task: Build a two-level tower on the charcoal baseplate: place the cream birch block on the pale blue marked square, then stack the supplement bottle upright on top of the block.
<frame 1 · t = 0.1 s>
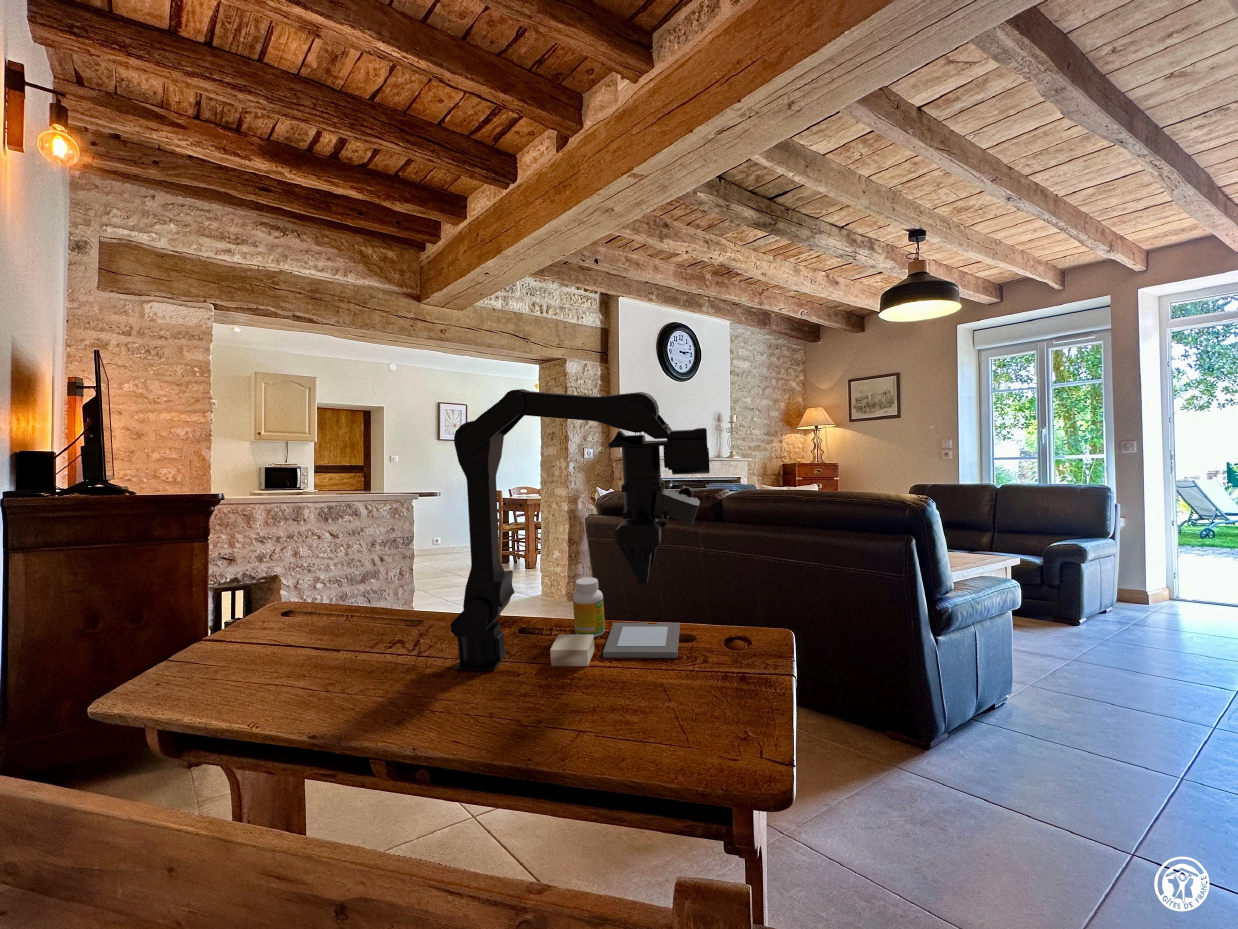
hand: (646, 575, 97), 15 cm above the table, tool pointing down, fingers open, 9 cm apart
baseplate: (643, 642, 107), on the table
supplement bottle: (590, 633, 112), on the table
birch block: (573, 659, 103), on the table
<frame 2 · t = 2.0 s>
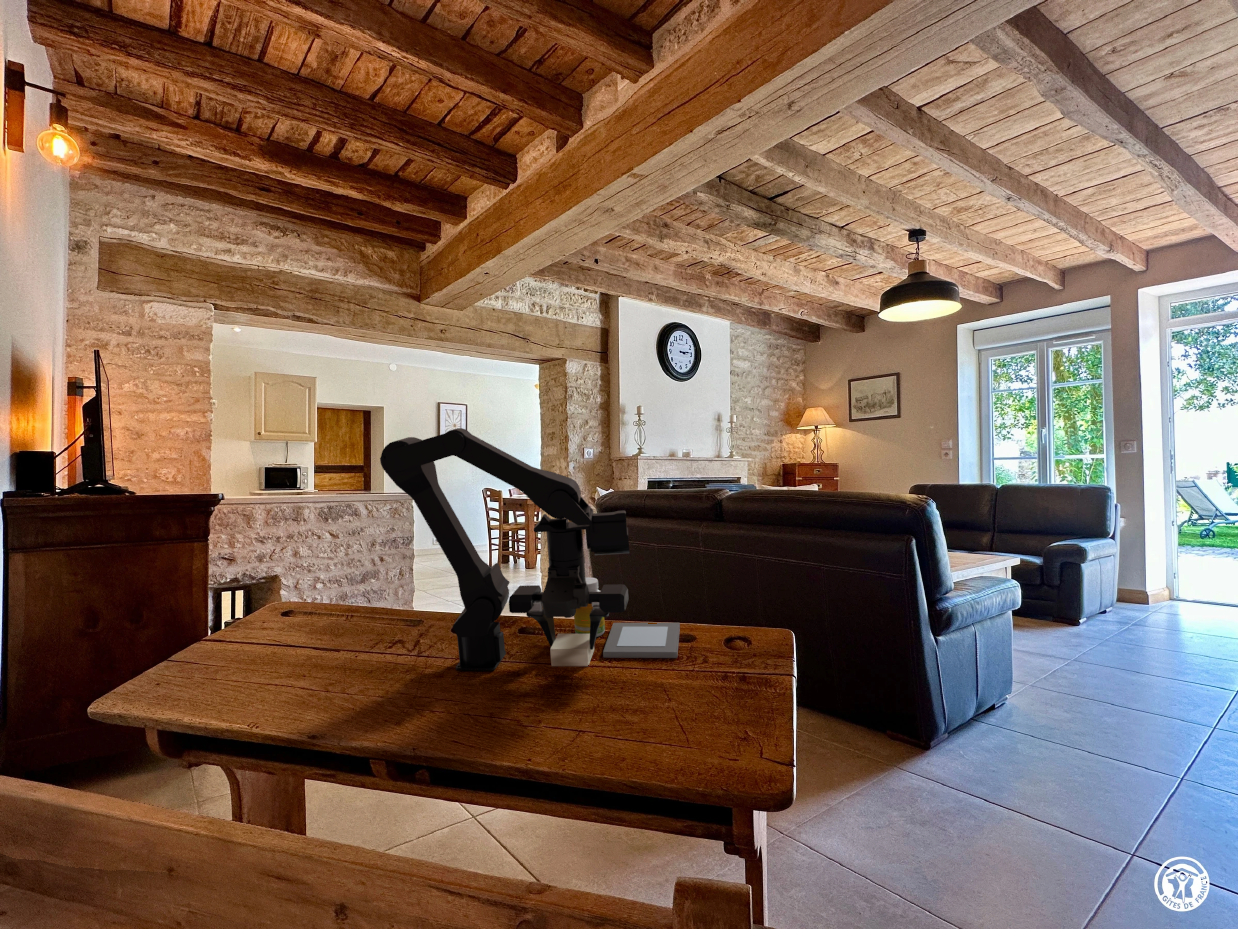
hand: (572, 648, 102), 2 cm above the table, tool pointing down, fingers closed on birch block, 6 cm apart
birch block: (573, 658, 103), on the table, touching gripper
everything else where it was.
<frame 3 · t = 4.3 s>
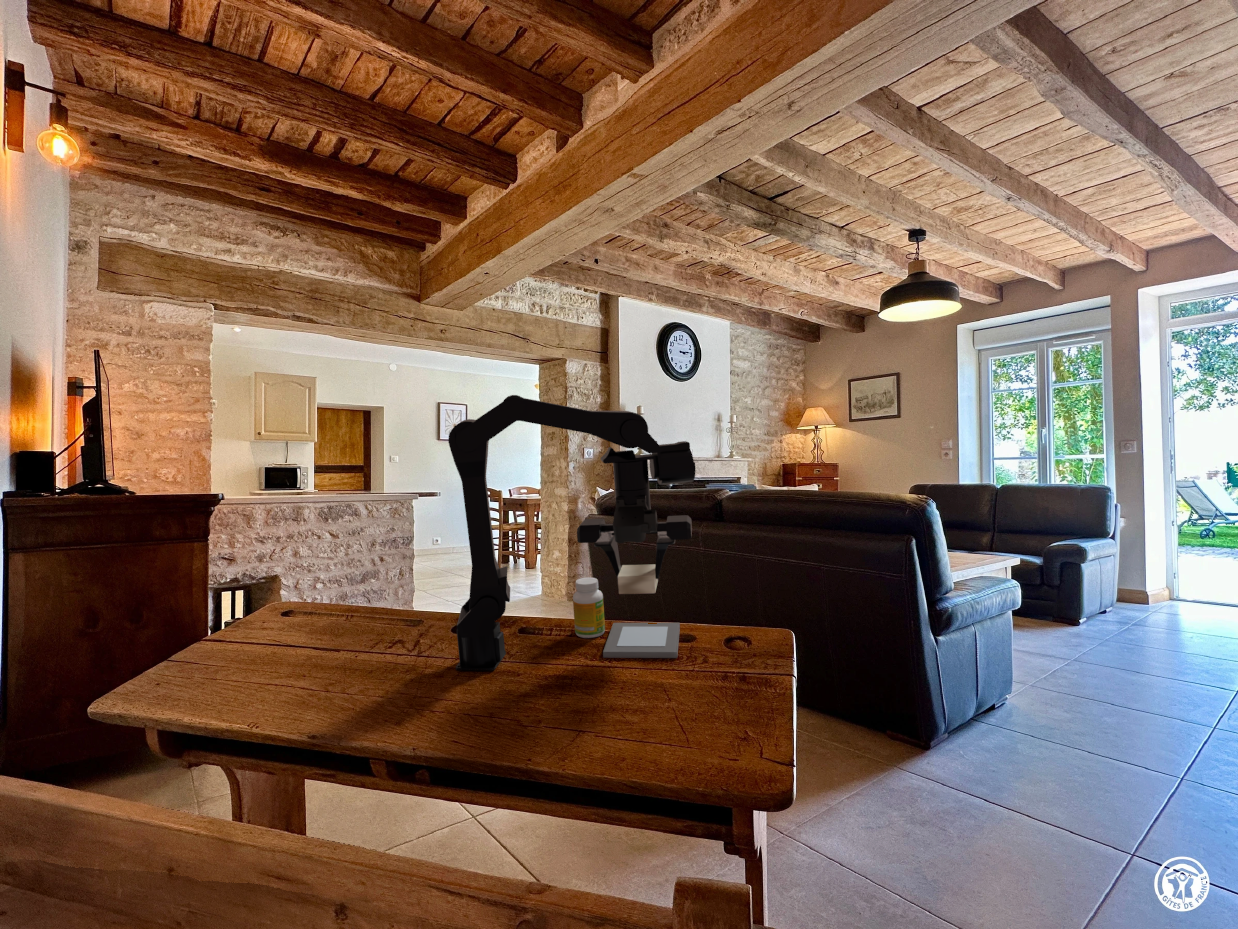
hand: (638, 578, 105), 11 cm above the table, tool pointing down, fingers closed on birch block, 6 cm apart
birch block: (638, 587, 105), point 10 cm above the table, touching gripper
everything else where it was.
when the fingers open (3 cm above the table, at t = 6.2 s): birch block stays where it is, resting on baseplate.
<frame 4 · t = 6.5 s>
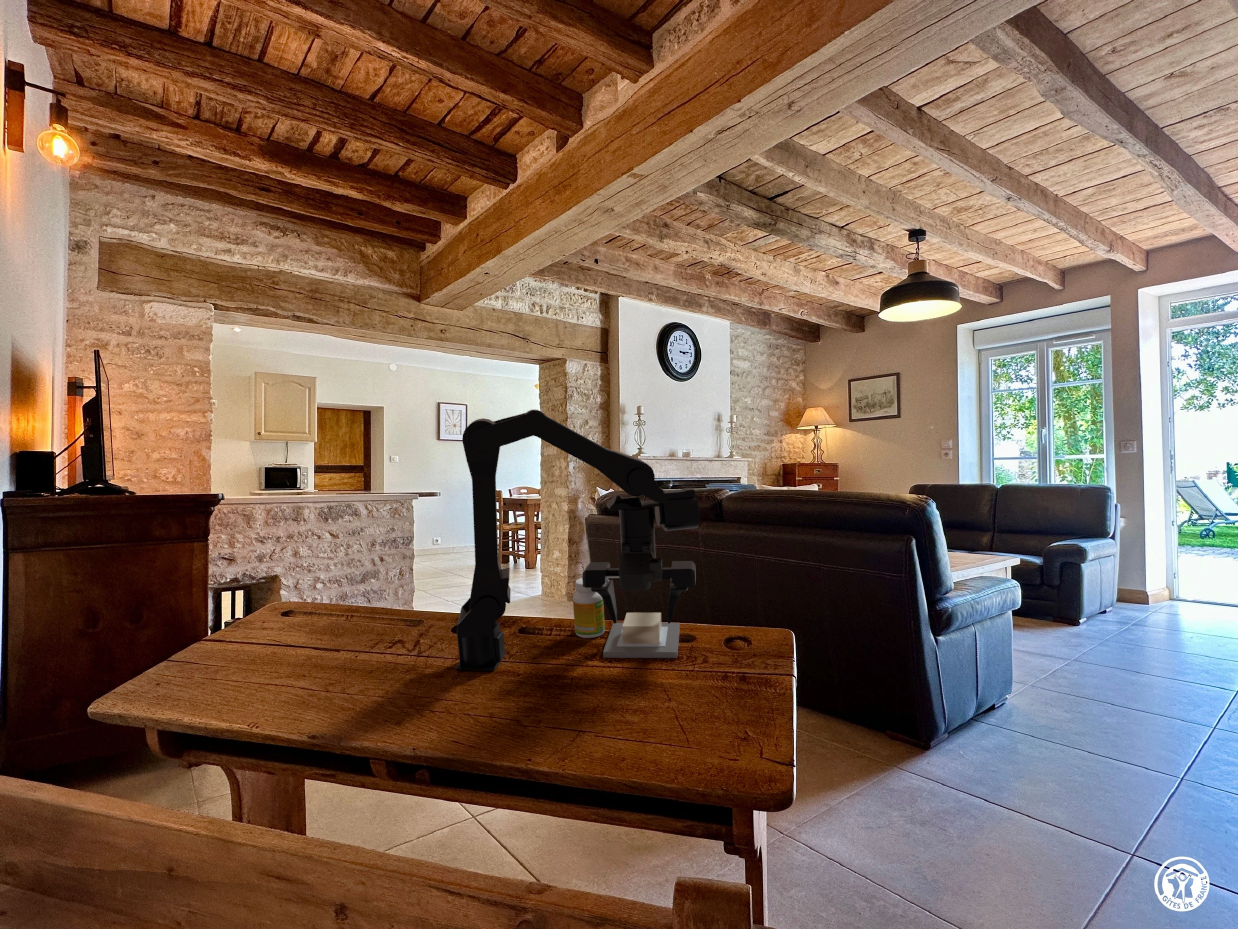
hand: (642, 622, 106), 3 cm above the table, tool pointing down, fingers open, 9 cm apart
birch block: (642, 636, 107), point 1 cm above the table, touching baseplate
everything else where it was.
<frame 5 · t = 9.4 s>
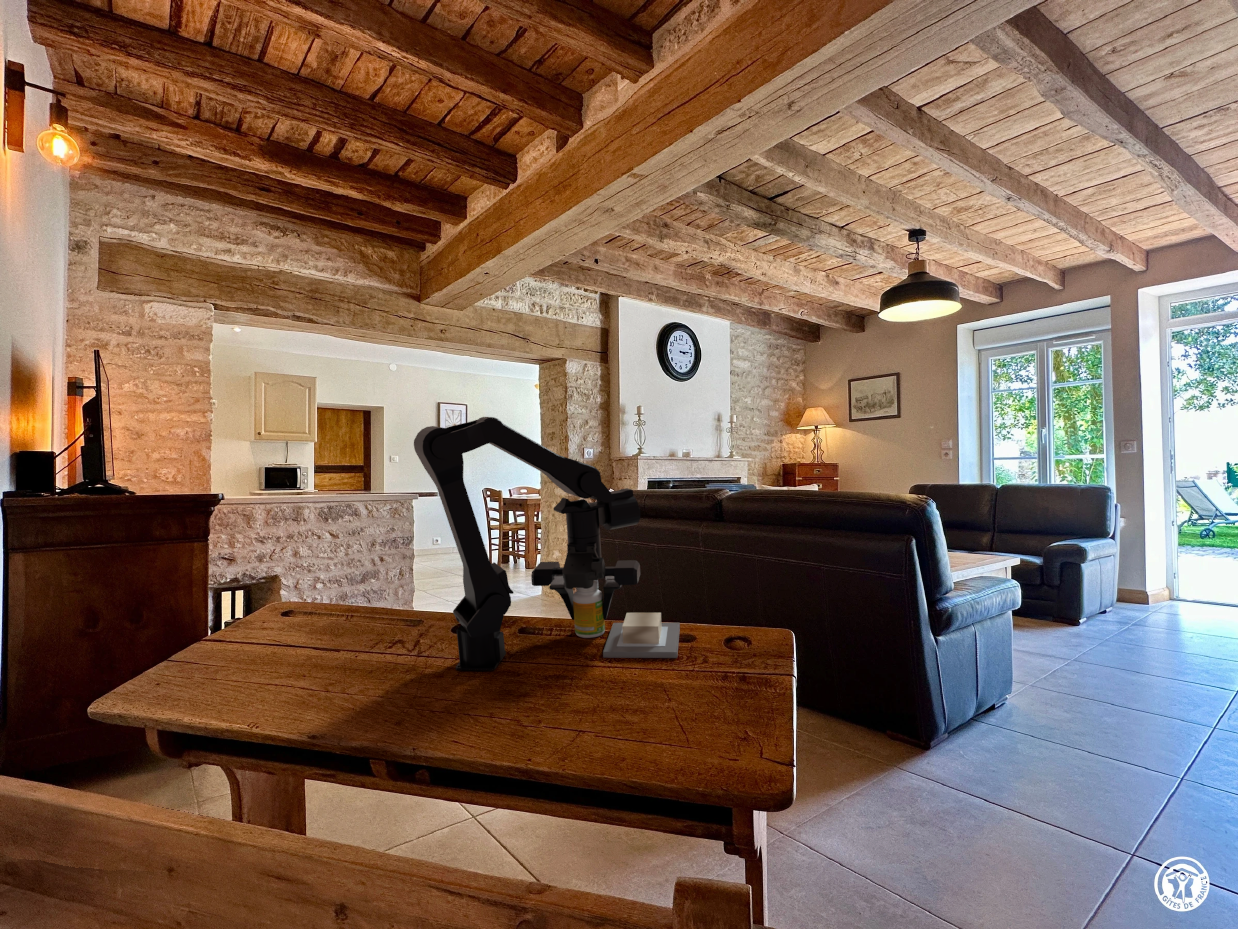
hand: (589, 619, 112), 3 cm above the table, tool pointing down, fingers closed on supplement bottle, 5 cm apart
supplement bottle: (590, 633, 112), on the table, touching gripper
everything else where it was.
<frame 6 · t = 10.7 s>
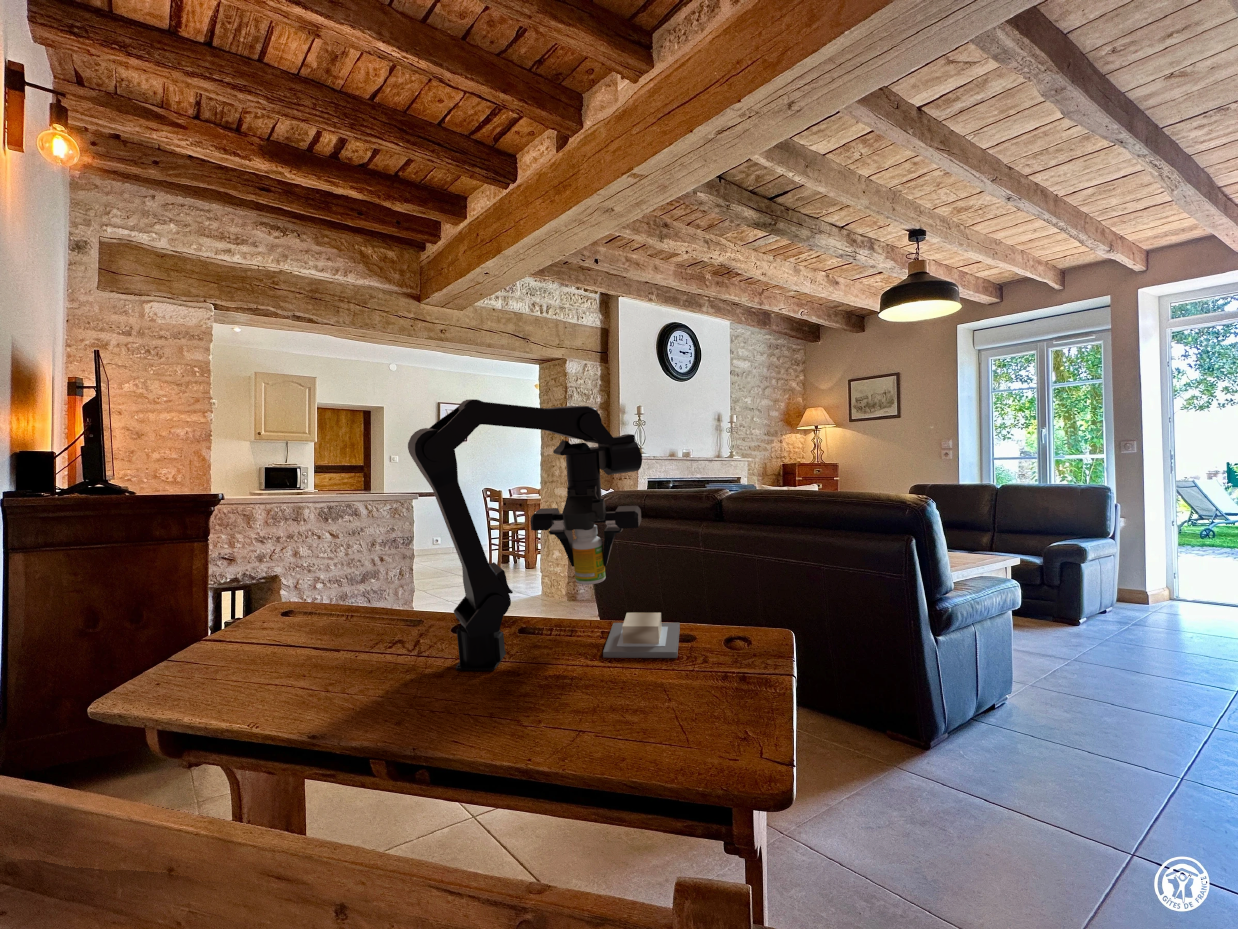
hand: (589, 565, 110), 12 cm above the table, tool pointing down, fingers closed on supplement bottle, 5 cm apart
supplement bottle: (590, 581, 111), point 10 cm above the table, touching gripper
everything else where it was.
when the fingers open (8 cm above the table, at t = 12.5 s): supplement bottle drops 1 cm, resting on birch block.
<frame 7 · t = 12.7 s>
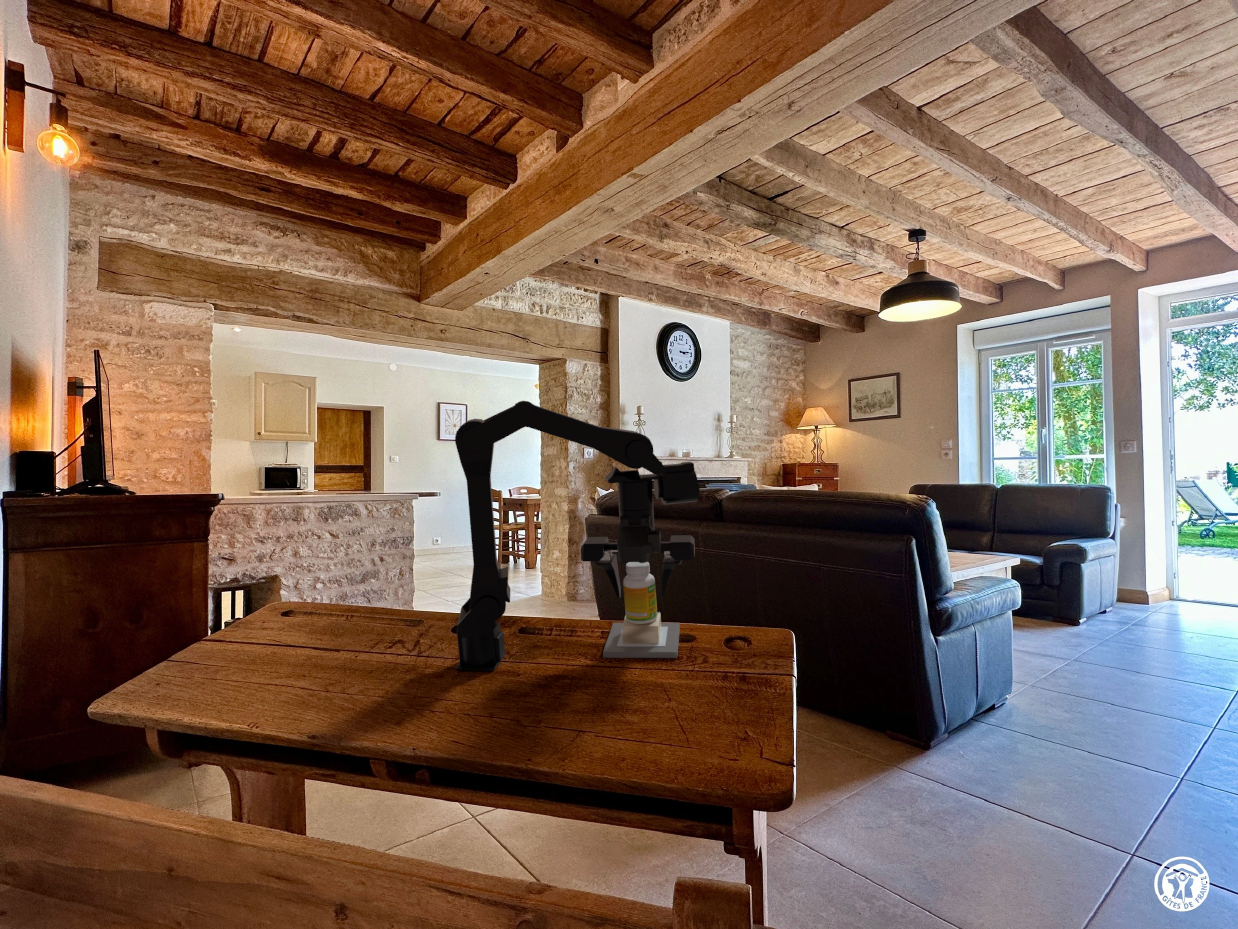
hand: (640, 597, 106), 8 cm above the table, tool pointing down, fingers open, 7 cm apart
supplement bottle: (641, 619, 106), point 4 cm above the table, touching birch block
birch block: (642, 636, 107), point 1 cm above the table, touching baseplate, supplement bottle
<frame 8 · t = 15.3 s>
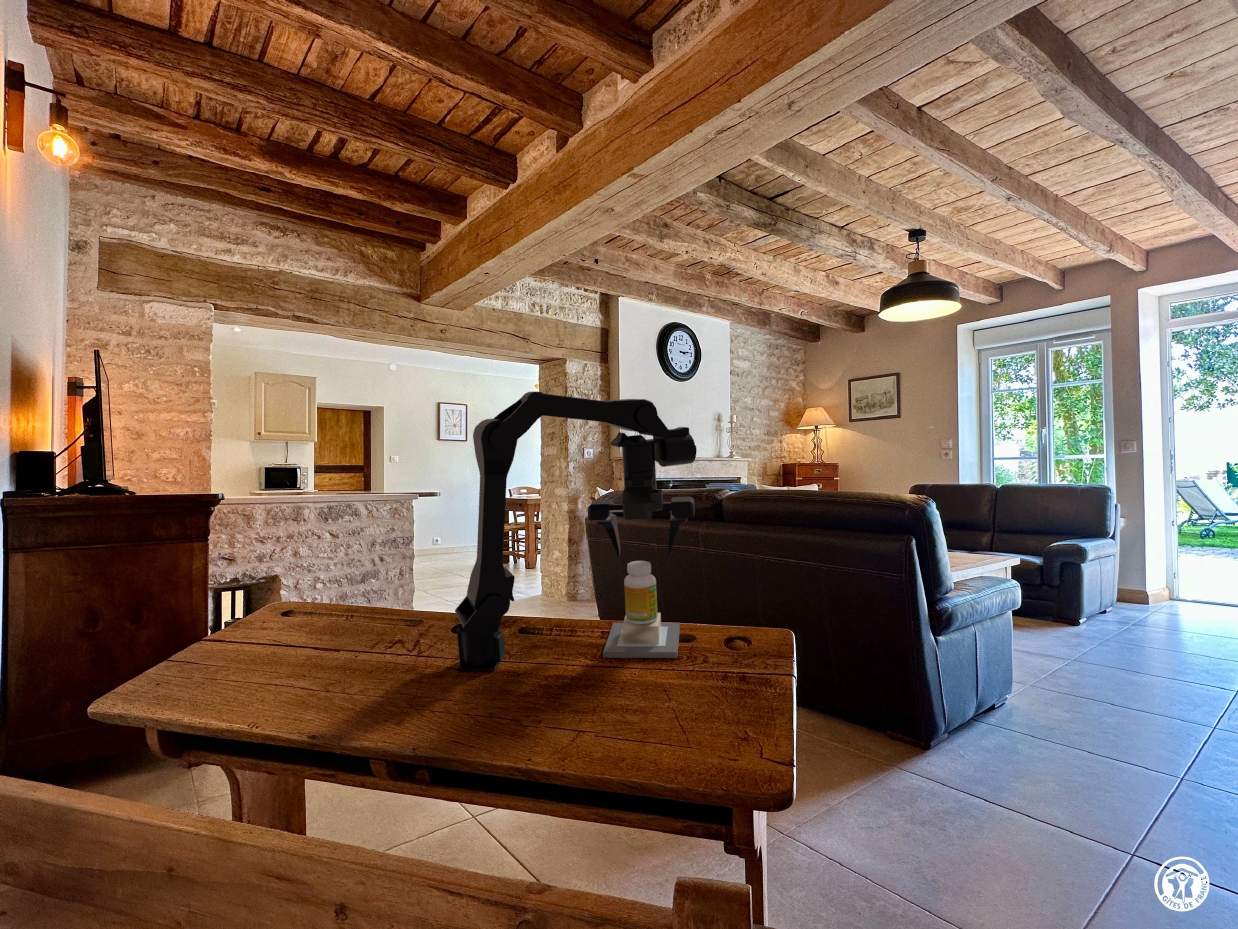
hand: (644, 555, 113), 13 cm above the table, tool pointing down, fingers open, 9 cm apart
nothing on the table moved.
at the end: birch block 0.1 cm off-centre on the baseplate, point 1.1 cm above the baseplate's base; supplement bottle 0.1 cm off-centre on the birch block, point 2.8 cm above the birch block's base; supplement bottle tilted 0° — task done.
